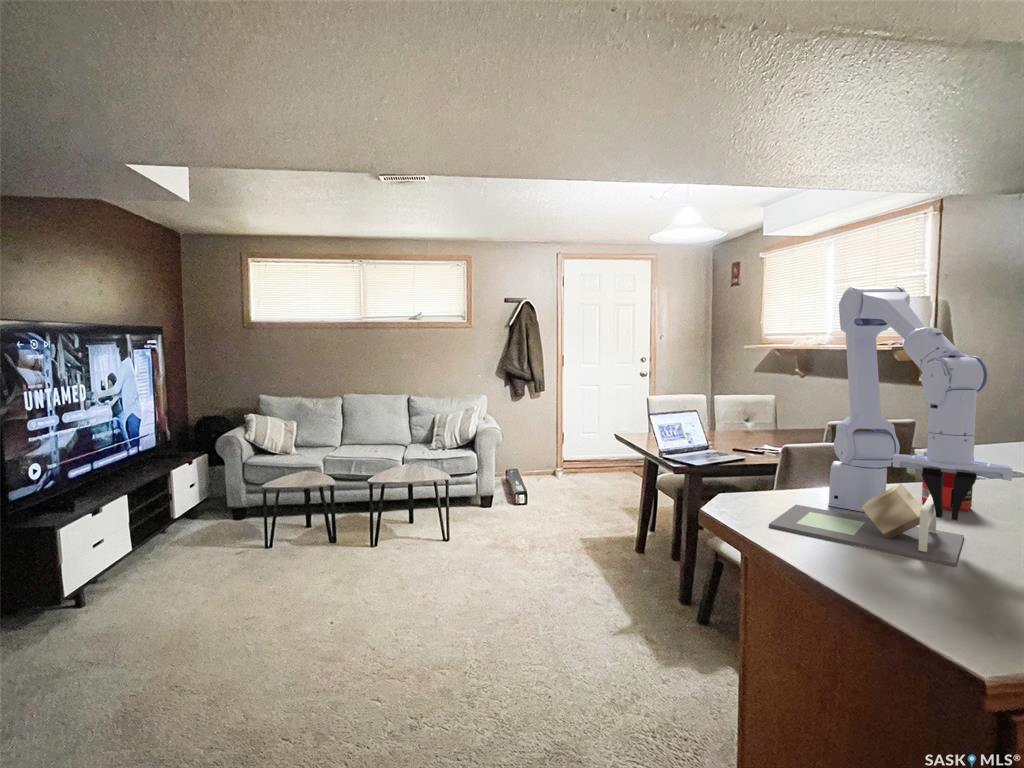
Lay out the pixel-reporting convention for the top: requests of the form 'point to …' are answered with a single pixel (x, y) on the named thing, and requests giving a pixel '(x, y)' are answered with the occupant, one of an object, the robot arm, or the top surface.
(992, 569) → the top surface
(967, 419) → the robot arm
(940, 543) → the rubber mat
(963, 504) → the canned food
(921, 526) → the gate
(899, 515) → the birch cube
